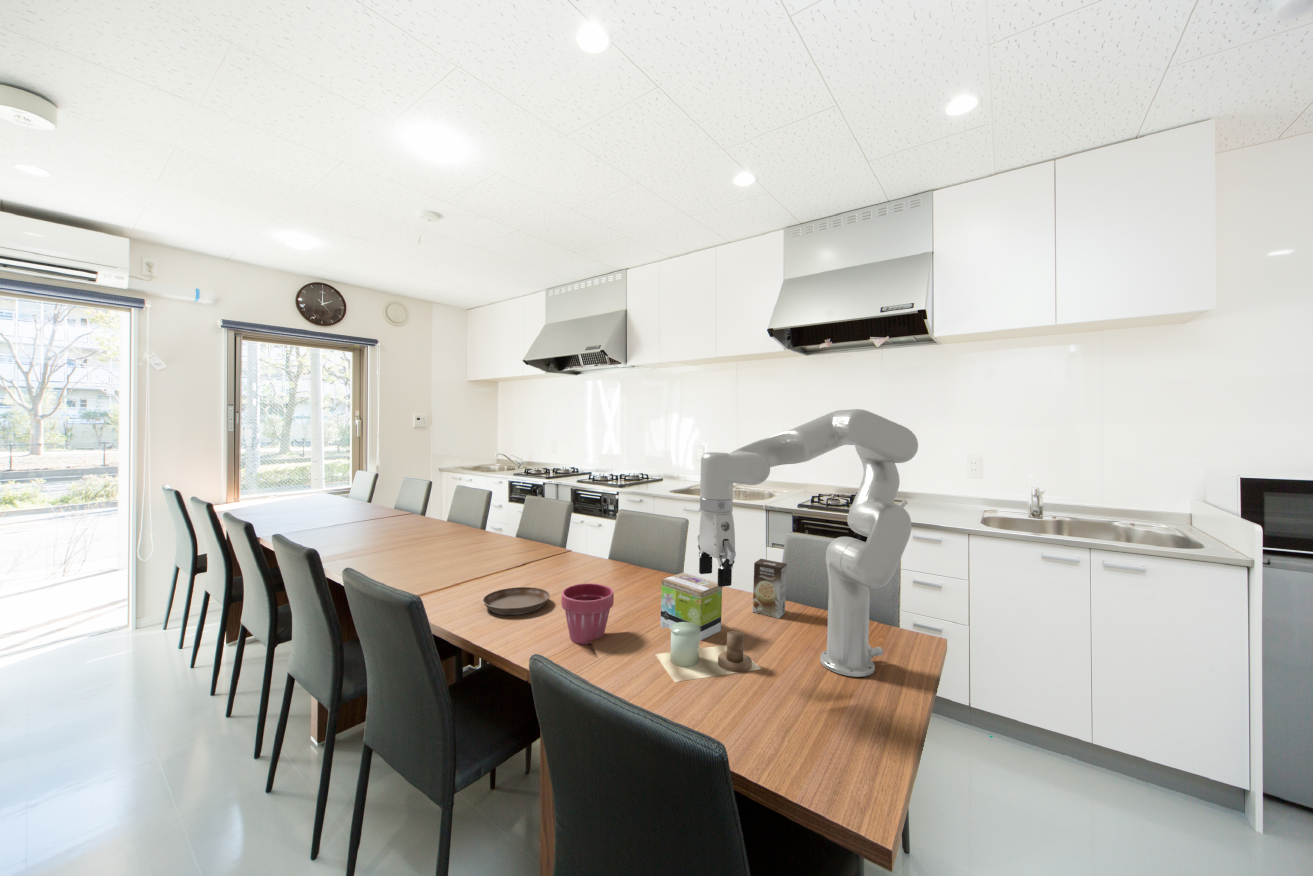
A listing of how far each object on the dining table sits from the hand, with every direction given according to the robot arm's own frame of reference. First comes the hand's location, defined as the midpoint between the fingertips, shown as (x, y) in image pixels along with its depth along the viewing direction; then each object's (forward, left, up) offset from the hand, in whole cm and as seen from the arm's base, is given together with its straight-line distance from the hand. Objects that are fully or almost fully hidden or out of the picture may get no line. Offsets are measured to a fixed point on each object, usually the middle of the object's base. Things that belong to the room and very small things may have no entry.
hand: (714, 579), depth 112 cm
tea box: (-5, -25, -23) cm, 35 cm away
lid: (-7, -2, -22) cm, 23 cm away
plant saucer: (+41, -59, -23) cm, 76 cm away
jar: (+4, -7, -22) cm, 23 cm away
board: (-1, -5, -23) cm, 24 cm away
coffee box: (-35, -32, -23) cm, 53 cm away
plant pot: (+24, -29, -23) cm, 44 cm away
